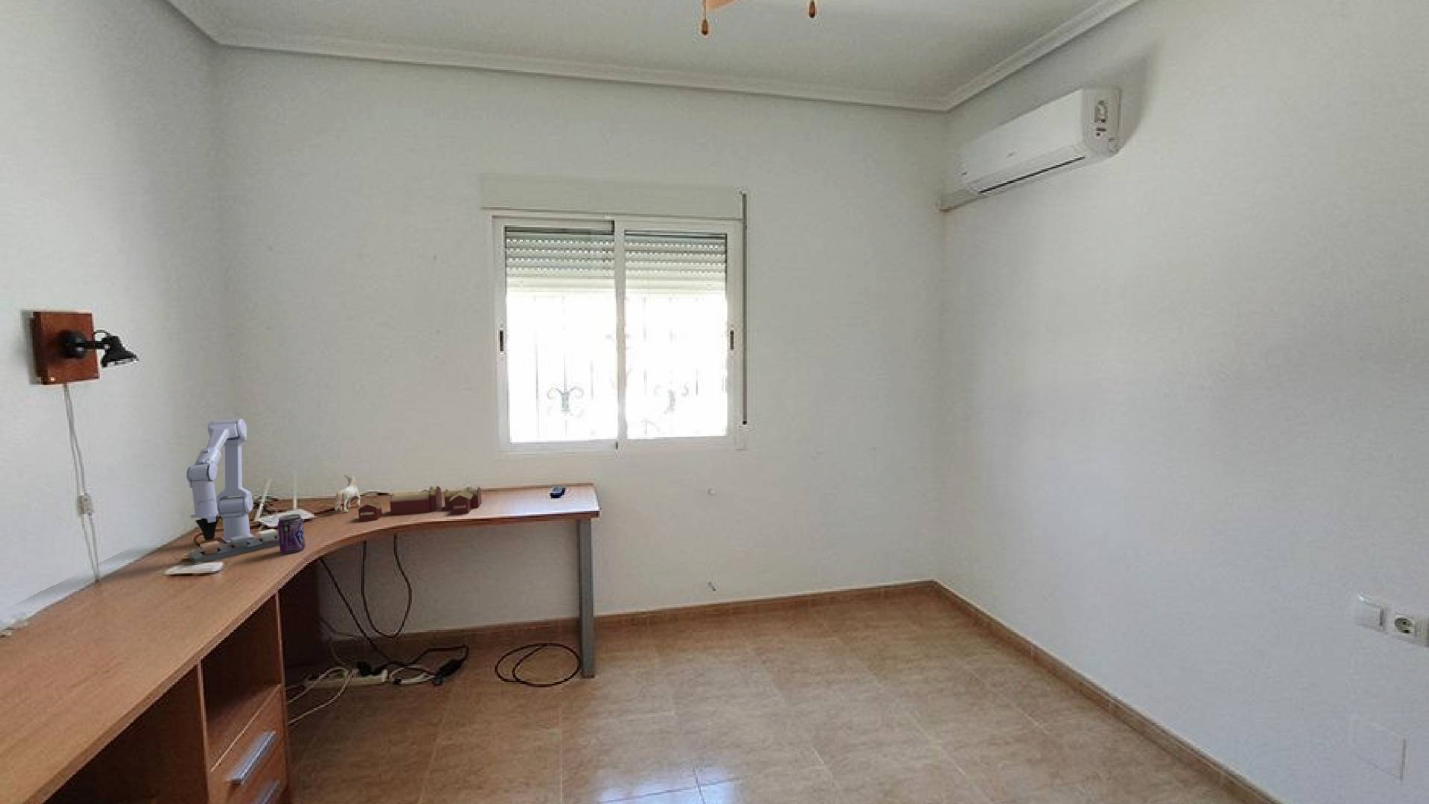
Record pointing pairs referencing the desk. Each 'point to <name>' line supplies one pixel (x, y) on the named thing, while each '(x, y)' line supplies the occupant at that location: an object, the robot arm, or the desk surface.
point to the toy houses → (425, 503)
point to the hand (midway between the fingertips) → (209, 539)
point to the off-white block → (267, 534)
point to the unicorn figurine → (347, 494)
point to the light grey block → (239, 540)
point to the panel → (233, 549)
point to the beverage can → (291, 533)
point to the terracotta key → (210, 547)
